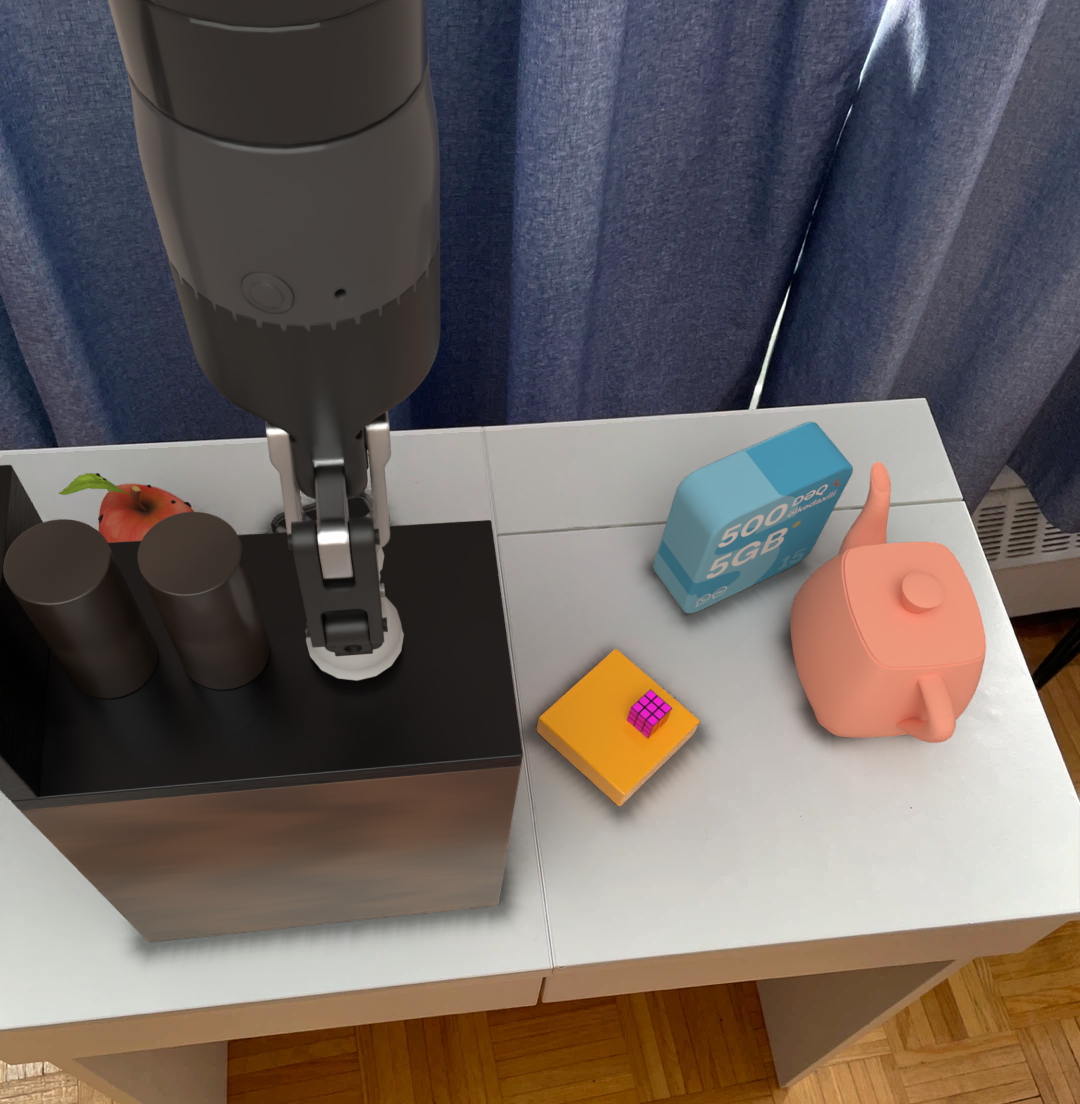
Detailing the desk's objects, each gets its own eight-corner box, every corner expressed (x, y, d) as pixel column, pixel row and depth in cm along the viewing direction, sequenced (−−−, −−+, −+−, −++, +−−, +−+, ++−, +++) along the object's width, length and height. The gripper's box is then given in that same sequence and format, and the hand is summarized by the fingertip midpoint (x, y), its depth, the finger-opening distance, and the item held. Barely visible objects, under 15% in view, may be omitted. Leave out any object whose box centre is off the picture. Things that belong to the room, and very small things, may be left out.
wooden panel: (148, 942, 68) (19, 811, 47) (152, 752, 73) (38, 560, 53) (498, 905, 71) (521, 766, 50) (477, 725, 76) (490, 533, 55)
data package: (680, 621, 81) (716, 525, 70) (648, 575, 83) (679, 475, 72) (808, 560, 84) (861, 459, 74) (774, 517, 86) (822, 413, 75)
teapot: (972, 783, 77) (1058, 709, 66) (813, 800, 76) (874, 726, 65) (895, 549, 86) (961, 449, 75) (751, 559, 84) (796, 459, 73)
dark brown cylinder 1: (47, 672, 49) (-21, 573, 42) (106, 607, 50) (50, 502, 43) (119, 714, 48) (63, 622, 41) (176, 647, 50) (131, 547, 43)
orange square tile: (619, 807, 74) (629, 784, 70) (535, 731, 76) (540, 704, 72) (694, 734, 77) (707, 707, 73) (611, 662, 79) (620, 633, 75)
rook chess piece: (306, 604, 51) (284, 500, 44) (401, 599, 52) (394, 496, 45) (308, 688, 49) (285, 594, 42) (406, 682, 50) (401, 588, 43)
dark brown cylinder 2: (162, 663, 49) (115, 565, 42) (216, 600, 51) (179, 495, 44) (235, 705, 49) (199, 612, 42) (287, 639, 50) (262, 539, 43)
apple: (187, 513, 82) (156, 423, 73) (226, 580, 80) (199, 496, 71) (88, 554, 80) (43, 466, 71) (125, 624, 77) (84, 543, 68)
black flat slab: (19, 811, 47) (-48, 742, 41) (38, 560, 53) (-19, 465, 46) (521, 766, 50) (533, 696, 43) (490, 533, 55) (496, 439, 49)
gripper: (465, 411, 27) (457, 701, 42) (418, 44, 33) (425, 411, 48) (153, 425, 26) (257, 717, 41) (162, 45, 32) (250, 419, 47)
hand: (348, 552), depth 44 cm, fingers open, 8 cm apart
